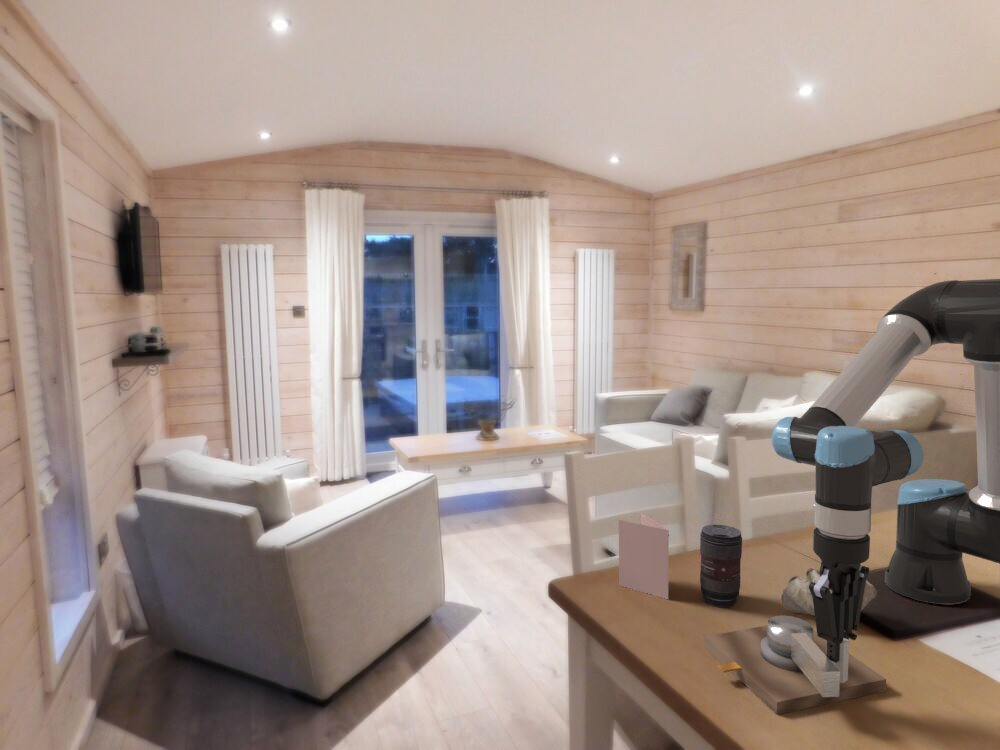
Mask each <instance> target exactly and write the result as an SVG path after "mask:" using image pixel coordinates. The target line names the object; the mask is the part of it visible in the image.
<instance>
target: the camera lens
mask: <svg viewBox="0 0 1000 750" xmlns="http://www.w3.org/2000/svg"><path fill="white" fill-rule="evenodd" d="M699 537H700V539H699V540H700V541H699V544H700V545H699V547H700V548H699V552H700V572H699V584H700V592H701V594H702V599H703V601H704V603H706V602H707V603H706V604H707V605H711V606H712V607H717V608H729V607H734V606H735V605H737V602H738V597H739V596H740V589H741V559H742V553H743V538H742V532H741V531H740V529H738V528H736V527H733V526H730V525H726V524H707V525H705V526H702V528H701V531H700V536H699Z"/></svg>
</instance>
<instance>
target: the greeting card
mask: <svg viewBox="0 0 1000 750" xmlns="http://www.w3.org/2000/svg"><path fill="white" fill-rule="evenodd" d="M640 518H641V520H640V523H636V522H631V521H626V520H621V519H618V577H619V578H618V585H622V586H624V587H623V588H625V587H627V588H626V589H628V588H630V589H629V590H632V589H633V591H635V590H636V591H635V592H639V591H640V592H639V593H642V592H644V593H643V594H646V593H648V594H647V595H649V594H652V595H651V596H653V595H654V596H653V597H656V596H659V597H658V598H660V597H662V598H661V599H664V598H665V600H667V599H668V600H669V547H670V545H669V542H670V541H669V537H670V534H669V532H670V531H669V529H667V528H666V527H664V525H663V526H662V525H661V524H659V523H657V522H656V521H655V520H654V519H651V518H650V517H648V516H647V515H645V514H644V513H642V512H641V513H640Z"/></svg>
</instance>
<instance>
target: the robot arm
mask: <svg viewBox="0 0 1000 750" xmlns="http://www.w3.org/2000/svg"><path fill="white" fill-rule="evenodd" d="M939 344H954V345H962V351H963V352H962V353H963V359H965V360H966V361H967V362H969V363H970V364H972V365H973V375H974V376H973V378H974V379H973V380H974V402H975V403H974V405H975V407H974V409H975V430H976V431H975V432H976V435H975V436H976V460H977V461H976V463H977V464H976V465H977V485H976V486H975V487H973V488H972V489H970V490H969V489H968V487H967V485H966V483H964V482H961V481H958V480H951V479H942V478H938V479H937V478H923V479H913V480H909V481H906V482H904V483H903V484H901V486H900V487H899V489H898V497H897V501H896V504H897V510H896V511H897V512H896V515H897V516H896V535H895V537H896V538H895V539H896V541H895V551H894V552H893V554H892V557H891V558H890V561H889V564H888V566H887V568H886V570H885V572H884V584H885V583H886V584H885V586H886V585H887V586H888V587H889V588H890V589H891V590H890V589H889V588H888V587H887V586H886V587H887V588H888V589H889V590H890V591H892V590H893V591H895V592H897V593H899V594H902V595H905V596H907V597H911V598H914V599H918V600H922V601H928V602H935V603H956V602H961V601H965V600H967V599H969V598H970V596H971V597H972V586H971V582H970V581H969V580H968V576H967V572H966V567H965V564H964V561H963V554H966V555H969V556H972V557H975V558H980V559H983V560H986V561H990V562H993V563H996V564H999V565H1000V278H990V279H986V278H985V279H967V280H966V279H965V280H943V281H940V282H936V283H932V284H930V285H926V286H924V287H922V288H921V289H917V290H916V291H914V292H912V293H911V294H910V295H908V296H907V297H905V298H903V299H902V300H901V301H899V302H898V303H896V304H895V305H894V306H893V307H892V308H890V310H888V311H887V312H886V313H885V314H884V315H883V317H882V318H881V319H879V321H878V323H877V325H876V333H875V334H874V335H873V336H872V337H871V339H870V340H869V341H868V342H867V343H866V344H865V345H864V346H863V347H862V348H861V349H860V351H859V352H858V353H857V355H855V356H854V358H853V359H852V360H851V361H850V362H849V363H848V364H847V365H846V367H845V368H844V369H842V371H841V372H840V374H838V376H837V377H836V378H834V380H833V381H832V382H831V383H830V385H829V386H828V387H827V388H826V389H825V390H824V391H823V393H821V395H820V396H819V397H818V398H817V399H816V400H814V402H813V403H812V405H811V406H810V407H809V408H808V409H807V410H806V411H805V412H804V413H803V415H802V416H801V417H797V416H785V417H784V418H781V419H779V420H778V421H777V422H776V424H775V425H774V426H773V429H772V434H771V445H772V448H773V450H774V451H775V453H776V454H777V456H779V457H781V458H783V459H786V460H789V461H793V462H795V463H797V464H806V465H809V466H813V467H814V466H815V494H814V502H813V508H814V522H813V524H814V526H815V528H814V530H813V538H812V539H813V541H812V543H813V546H812V547H813V548H812V550H813V552H814V554H815V555H816V556H817V557H818V558H819V559H820V560H821V562H820V566H819V570H818V571H819V575H820V579H819V581H818V582H817V584H816V583H813V582H811V583H810V584H809V590H810V592H811V594H812V597H813V605H814V613H815V616H814V618H815V628H816V631H817V636H818V637H820V638H822V639H825V640H827V645H826V656H827V657H828V658H829V660H830V661H831V662H832V663H833V664H834V665H835V666H836V667H837V669H838V670H839V671H840V682H841V683H844V682H846V681H847V680H848V658H849V654H850V653H849V652H850V640H852V641H856V640H857V638H858V634H855V633H853V631H857V630H858V629H859V624H860V620H861V614H862V613H861V612H862V611H861V608H862V601H863V595H864V589H865V583H866V580H867V581H868V576H869V575H870V574H869V573H870V567H868V566H865V565H862V564H863V563H865V562H867V561H868V560H869V558H870V549H871V547H870V545H871V536H870V535H869V534H870V533H871V529H872V528H871V527H872V525H871V524H872V494H873V487H877V486H879V485H882V484H885V483H890V482H895V481H900V480H904V478H905V479H906V478H907V477H909V476H911V475H913V474H915V473H916V472H918V470H919V469H920V468H921V466H922V465H923V462H924V457H925V456H924V450H923V446H922V445H921V443H920V441H919V440H918V439H917V438H916V437H915V436H914V435H913V434H911V433H910V432H908V431H906V430H901V429H885V430H882V431H874V430H869V429H866V428H863V427H859V426H857V424H858V423H859V422H860V420H861V419H862V418H863V417H864V416H865V415H866V413H867V412H868V411H870V409H871V408H872V406H873V405H875V403H876V402H877V401H878V400H879V398H881V396H882V395H883V394H884V392H885V391H886V390H887V389H888V388H889V387H890V386H891V384H892V383H893V382H894V381H895V380H896V378H897V377H898V376H900V374H901V372H903V370H904V369H905V368H906V367H907V366H908V364H909V363H910V362H911V361H912V360H913V358H914V357H917V356H921V355H923V354H925V353H926V352H927V351H928V350H929V349H930V348H931V347H932V346H935V345H939ZM968 490H969V491H968ZM893 591H892V592H893ZM895 592H894V593H895ZM897 593H896V594H897ZM899 594H898V595H899ZM970 599H971V598H970Z"/></svg>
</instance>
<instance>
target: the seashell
mask: <svg viewBox="0 0 1000 750" xmlns="http://www.w3.org/2000/svg"><path fill="white" fill-rule="evenodd" d="M819 579H820V575H819V570H818V569H817V568H816V569H815V568H812V567H811V568H809V569H807V571H806V572H805V577H804V578H802V577H800V576H798V575H794V576H792V577H790V578H789V581H788V582H787V585H786V586H785V588H783V590H782V591H783V592H782V594H781V597H780V599H781V602H780V603H781V605H782V606H783V608H784V609H785V610H788V611H790V612H792V613H795V614H803V615H810V616H811V615H812V616H814V617H815V613H814V605H813V597H812V594H811V592H810V590H809V584H810V583H811V582H813V583H816V584H817V582H818V581H819ZM877 595H878V591H877V589H876V588H875V586H874V585H873V584H871V583H870V582H869V581H868V579H867V580H866V583H865V589H864V595H863V601H862V608H861V612H862V611H863V610H864V608H866V607H867V605H868V604H869V603H870V602H871V601H872V600H874V599H875V598H876V597H877Z"/></svg>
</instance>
